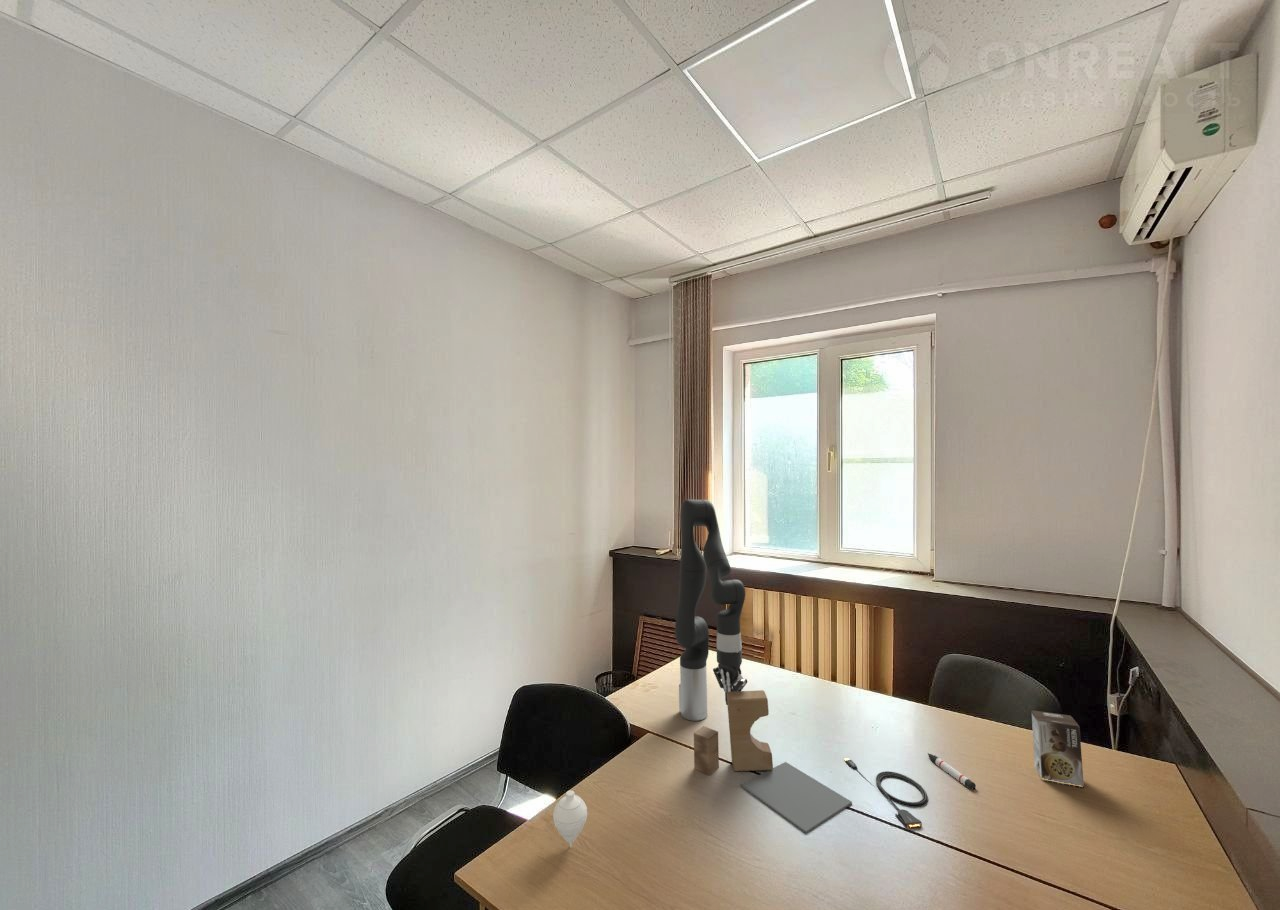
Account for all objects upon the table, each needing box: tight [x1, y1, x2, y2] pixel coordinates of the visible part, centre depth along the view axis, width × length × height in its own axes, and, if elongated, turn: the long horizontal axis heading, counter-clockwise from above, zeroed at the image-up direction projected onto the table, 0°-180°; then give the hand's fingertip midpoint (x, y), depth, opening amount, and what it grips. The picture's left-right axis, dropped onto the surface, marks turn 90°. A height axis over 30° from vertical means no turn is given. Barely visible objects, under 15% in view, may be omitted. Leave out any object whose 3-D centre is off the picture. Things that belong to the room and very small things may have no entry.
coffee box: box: [1030, 709, 1085, 787], centre depth 132 cm, size 9×6×16 cm
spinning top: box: [552, 789, 588, 848], centre depth 110 cm, size 8×8×12 cm
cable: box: [843, 758, 929, 830], centre depth 129 cm, size 14×28×2 cm, turn 7°
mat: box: [740, 761, 853, 834], centre depth 127 cm, size 21×18×1 cm
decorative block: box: [727, 689, 774, 772], centre depth 140 cm, size 11×6×20 cm, turn 85°
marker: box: [927, 752, 976, 790], centre depth 136 cm, size 15×2×2 cm, turn 11°
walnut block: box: [693, 725, 720, 776], centre depth 139 cm, size 5×5×10 cm
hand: (730, 705), depth 147 cm, fingers closed
